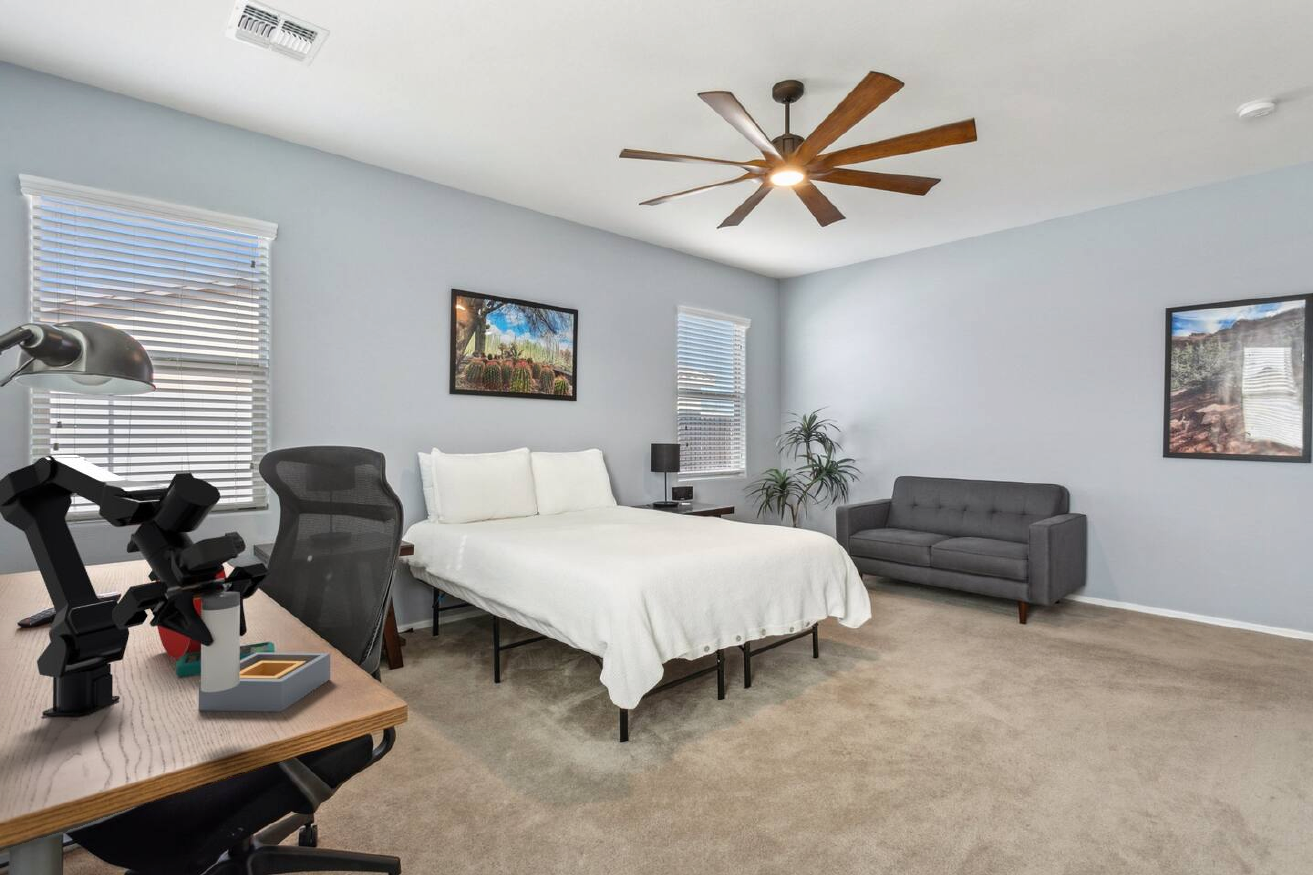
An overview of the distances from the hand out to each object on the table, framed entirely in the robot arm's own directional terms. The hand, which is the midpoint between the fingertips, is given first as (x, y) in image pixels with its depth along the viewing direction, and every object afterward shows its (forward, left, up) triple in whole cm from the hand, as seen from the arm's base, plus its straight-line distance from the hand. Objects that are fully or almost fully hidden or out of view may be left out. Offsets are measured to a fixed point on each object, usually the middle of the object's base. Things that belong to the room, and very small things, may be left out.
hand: (227, 638), depth 88 cm
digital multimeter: (-21, +28, -14) cm, 38 cm away
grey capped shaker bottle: (-1, 0, -7) cm, 7 cm away
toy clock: (-32, +33, -14) cm, 49 cm away
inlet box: (-4, +15, -13) cm, 21 cm away
